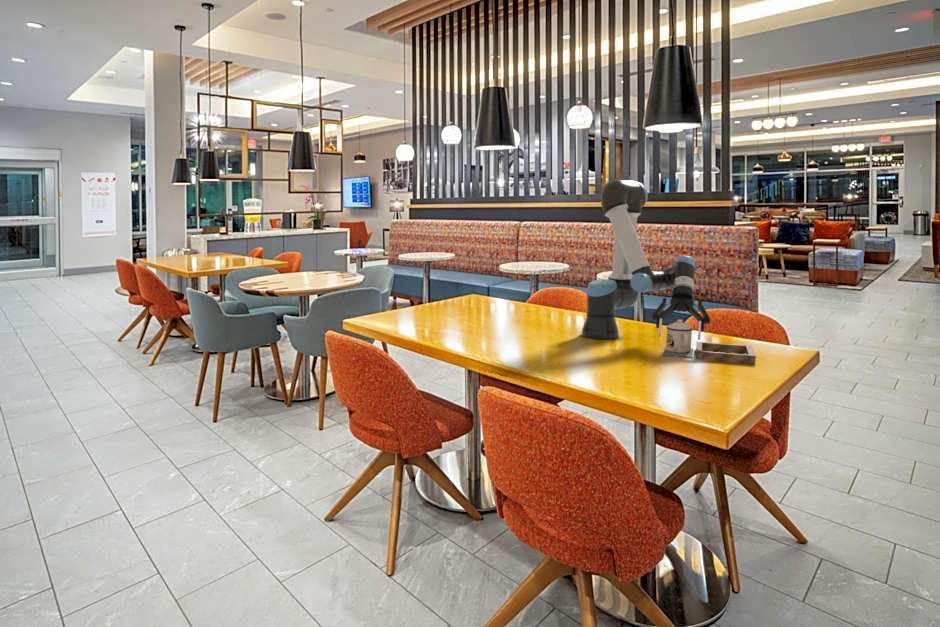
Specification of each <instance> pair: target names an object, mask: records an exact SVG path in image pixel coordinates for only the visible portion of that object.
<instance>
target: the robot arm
mask: <svg viewBox="0 0 940 627" xmlns="http://www.w3.org/2000/svg"><path fill="white" fill-rule="evenodd" d="M648 197H649V195H648V190H647V188H646V186H645V185H644V184H643V183H641V182H639V181H636V180H632V179H630V180H627V179H626V180H624V179H612V180H610V181H608V182H606V183H605V185H603V187H602V189H601V193H600V204H601V208H602V209H601V210H602V211H603V214H604V216H605V217H606V218H608V219H609V221H610V224H611V227H612V229H613V232H614V240H613V241H614V243H613V244H614V245H613V258H612V259H613V260H612V272H611V274H609V276H608V277H607V278H606V279H605V278H604V279H596V280H592V281H591V282H589V283H588V285H587V291H586V294H587V295H586V297H587V298H586V318H585V321H584V324H583V326H582V329H581V336H582V337H584V338H589V339H594V340H612V339H617V338H619V333H620V332H619V328H618V325H617V322H616V310H620V309H627V308H630V307H632V306H634V305H636V303H637V302H638V301H639V299H640V296H641V295H640V294H641V293H648V292H653V293H656V294H657V293H659V292H663V291H665V290H667V289H669V288H672V294H671V299H668V298H666V297H663V299H662V302H661V303H660V305H658V307H657V308H656V309H655V311H654V312H653V313H652V314H651V318H652V321H656V322H655V327H656V329H658V332H657V333H658V334H657V336H658V337H661V335H662V329H663V328H662V327H663V320H664V319H665V318H666V317H668V316H669V315H670V314H671V313H674V312H682V313H683V312H685V313H686V312H687V313H688V314H691V316H693V318H695V319H696V321H698V329H697V330H698V332H697V341H698V340H699V341H700V340H701V332H705V325H706V324H711V323H710V322H711V318H710V316H709V314H708V312H707V311H706V309H705V307H704V305H703V303H702V299H697V300H694V288H695V276H696V275H695V274H696V262H695V260H694V258H693V257H692V256H689V255H681V256H678V257H677V258H676V260H675V262H674V265H672V266H669V267H667V268H665V269H662V270H660V271H653V269H652V267H651V265H650V263H649V261H648V259H647V256H646V252H645V251H644V249H643V246H642V244H641V241H640V239H639V236H638V234H637V223H638V217H639V216H640V215H641V214H642V210H643V209H642V208H643V207H644V206H645V205H646V204H647V203H648V199H649V198H648ZM668 305H669V306H668ZM667 306H668V307H667ZM694 306H695V307H696V308H697V309H698V311H699V312H698V311H697V310H696V309H695V308H694ZM666 307H667V308H666ZM665 308H666V309H665Z"/></svg>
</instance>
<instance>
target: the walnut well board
mask: <svg viewBox="0 0 940 627" xmlns="http://www.w3.org/2000/svg"><path fill="white" fill-rule="evenodd" d="M713 351H720V352H713ZM726 352H734V353H726ZM738 353H746V354H738ZM694 357H695V359H694V360H697V361H709V362H722V363H732V364H743V365H753V366H754V365H756V361H757V360H756V357H757V356H756V352H755V350H754V348H753V345H747V344H734V343H719V342H707V341H705V342H704V341H696V343H695V356H694Z"/></svg>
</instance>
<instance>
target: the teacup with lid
mask: <svg viewBox="0 0 940 627" xmlns="http://www.w3.org/2000/svg"><path fill="white" fill-rule="evenodd" d="M683 321H684V320H683V319H677V320H676V321H674V322H673V323H670V324H668V325H667V326H666V342H665V346H666V350H667V351H670V352H675V353H688V352H690V351H691V348H692V347H691V346H692V336H693V335H692V333H693V327H692V326H691V325H688V324H687V323H685V322H683Z"/></svg>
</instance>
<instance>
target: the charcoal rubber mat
mask: <svg viewBox="0 0 940 627" xmlns="http://www.w3.org/2000/svg"><path fill="white" fill-rule="evenodd" d="M693 352H694V348H692V347H691V351H690V352H688V353H675V352H670V351H667V350H666V345H665V347H664V349H663V352H662V357H669V358H671V357H673V358H682V359H683V358H685V359H693V357H694V356H693V355H694V353H693Z"/></svg>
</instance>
